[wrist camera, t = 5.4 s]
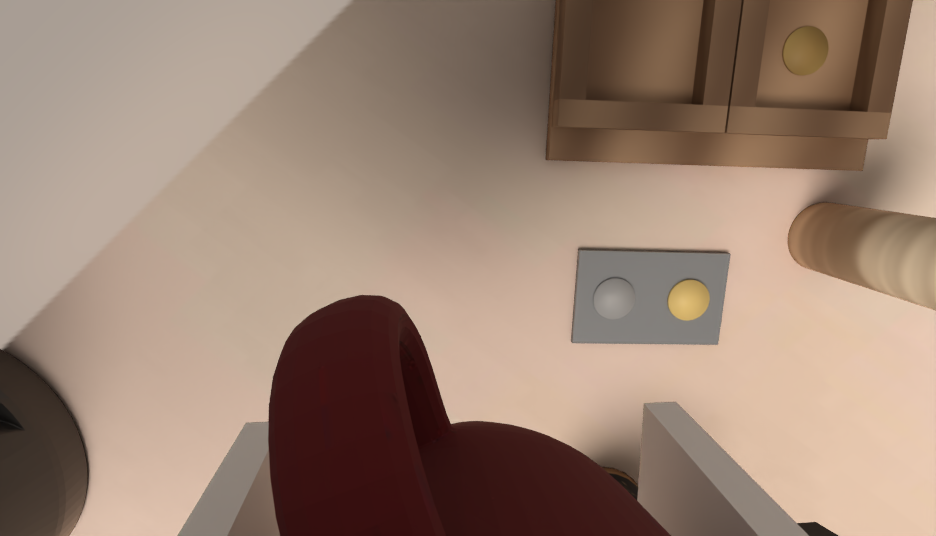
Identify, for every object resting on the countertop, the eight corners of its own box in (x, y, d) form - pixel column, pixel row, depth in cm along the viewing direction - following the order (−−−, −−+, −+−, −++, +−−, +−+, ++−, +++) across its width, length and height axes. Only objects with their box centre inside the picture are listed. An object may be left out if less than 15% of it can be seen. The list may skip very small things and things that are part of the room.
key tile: (571, 341, 30) (573, 344, 30) (578, 249, 29) (580, 251, 28) (715, 342, 31) (719, 345, 30) (727, 252, 30) (732, 254, 29)
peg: (782, 268, 30) (953, 328, 20) (793, 201, 29) (976, 230, 19) (846, 270, 30) (1045, 330, 20) (859, 203, 29) (1071, 232, 20)
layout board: (545, 159, 28) (554, 160, 26) (561, -87, 25) (572, -106, 24) (850, 170, 29) (881, 172, 27) (892, -65, 27) (929, -81, 25)
